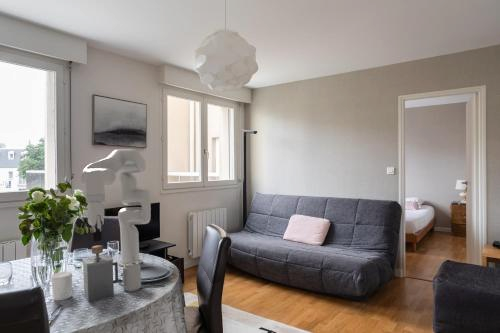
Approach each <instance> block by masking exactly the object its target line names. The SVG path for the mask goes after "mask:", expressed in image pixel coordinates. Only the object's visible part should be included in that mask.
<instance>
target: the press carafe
mask: <svg viewBox="0 0 500 333" xmlns="http://www.w3.org/2000/svg"><path fill="white" fill-rule="evenodd" d="M81 260H82V268H83V270H82V271H83V295H84V297H85V299H86V301H87V302H89V303H91V302H96V301H100V300H104V299H108V298H113V297H115V290H114V287H115V286H114V284H117V283H119V268H118V267H119V262H118V261H115V262H114V258H112V257H111V256H110V255H109V254H107V253H105V254H101V255H100V254H99V260H96V255H95V256H91V257H90V256H89V257H83V258H82V259H81Z"/></svg>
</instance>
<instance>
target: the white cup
mask: <svg viewBox="0 0 500 333" xmlns="http://www.w3.org/2000/svg"><path fill="white" fill-rule="evenodd" d="M50 279H51V280H50V281H51V289H52V298H53V300H54V301H56V302H57V301H64V300H68V299H69V298H71V297H72V293H73V292H72V288H73V272H72V271H70V270H69V271H68V270H67V271H60V272H56V273H53V274H51V275H50Z"/></svg>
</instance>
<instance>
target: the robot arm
mask: <svg viewBox="0 0 500 333" xmlns="http://www.w3.org/2000/svg"><path fill="white" fill-rule="evenodd" d="M146 168H147V166H146V161H145V159H144V157H143V156H142V154H141V153H140V152H139V151H138V150H137V149H135V148H119V149H114V150H113V151H112V152H111V153H110V154H109V155H108V156H107V157H106V158H103V159H100V160H98V161H95V162H94V161H93V162H92V163H89V164H88V165H87V166H86V167H85V168H84V169H83V170H82V172H81V174H80V181H81V182H82V184H83V185H84V186H85V187H84V188H85V190H84V191H85V204H87V223H88V225H90V226H91V227H92V241H93V242H98V241H99V242H102V240H103V239H102V235H103V234H102V226H103V225H104V222H105V215H104V203H105V202H106V193H105V191H106V190H105V187H106V186H109V185H112V184H114V183H115V181H116V176H117V175H118V177H119V181H120V202H121V204H122V205H125V206H134V207H123V208H121V209H120V210H119V211H118V212H117V213H118V214H117V218H118V223H119V230H120V253H121V254H120V257H121V258H120V260H119V262H118V266H120V267H124V264H125V263H127V262H131V261H137V262H139V264H140V265H141V263H142V262H143V259H142V258H140V244H139V243H140V242H139V231H138V228H137V227H136V226H135V225H146V224H149V223H150V221H151V210H152V208H151V203H152V202H151V193H150V189H148V188H147V187H138V186H137V178H136V176H135V175H134V173H143V172H144V171H145V170H146ZM116 173H117V175H116ZM137 205H138V207H137ZM140 206H141V207H140Z"/></svg>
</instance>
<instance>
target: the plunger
mask: <svg viewBox="0 0 500 333" xmlns="http://www.w3.org/2000/svg"><path fill="white" fill-rule="evenodd" d="M103 252H104V245H94V246H92V247H91V254H93V255H95V256H96V260H99V256H100V254H102V253H103Z"/></svg>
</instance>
